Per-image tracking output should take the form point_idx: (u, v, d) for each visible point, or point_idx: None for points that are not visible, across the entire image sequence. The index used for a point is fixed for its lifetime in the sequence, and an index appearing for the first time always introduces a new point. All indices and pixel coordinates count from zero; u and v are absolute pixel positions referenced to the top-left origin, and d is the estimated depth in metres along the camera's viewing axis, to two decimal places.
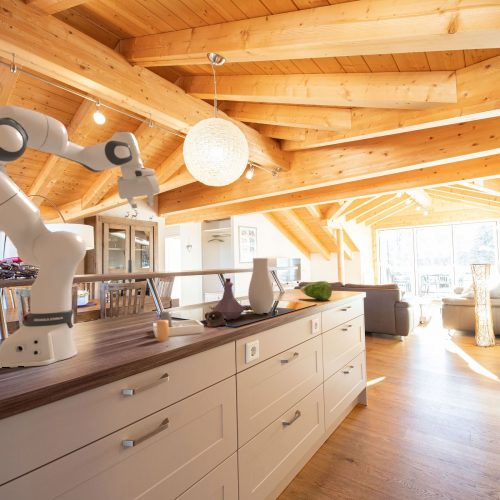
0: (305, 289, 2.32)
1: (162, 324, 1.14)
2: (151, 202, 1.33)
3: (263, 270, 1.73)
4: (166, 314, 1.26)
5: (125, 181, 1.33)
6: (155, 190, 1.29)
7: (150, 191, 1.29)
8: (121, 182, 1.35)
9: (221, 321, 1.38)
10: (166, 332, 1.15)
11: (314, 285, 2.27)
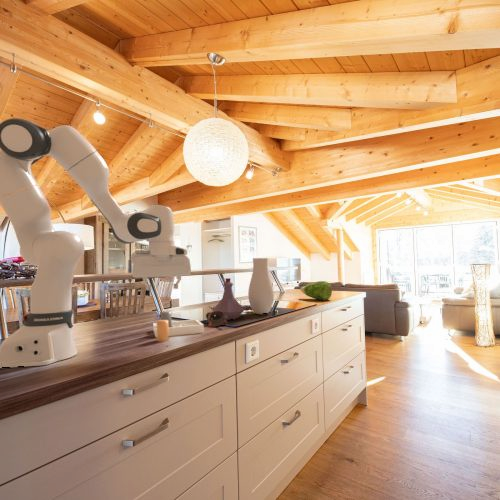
0: (305, 289, 2.32)
1: (162, 324, 1.14)
2: None
3: (263, 270, 1.73)
4: (166, 314, 1.26)
5: (150, 257, 1.14)
6: (190, 272, 1.19)
7: (187, 272, 1.18)
8: (143, 257, 1.13)
9: (222, 321, 1.39)
10: (166, 332, 1.15)
11: (314, 285, 2.27)
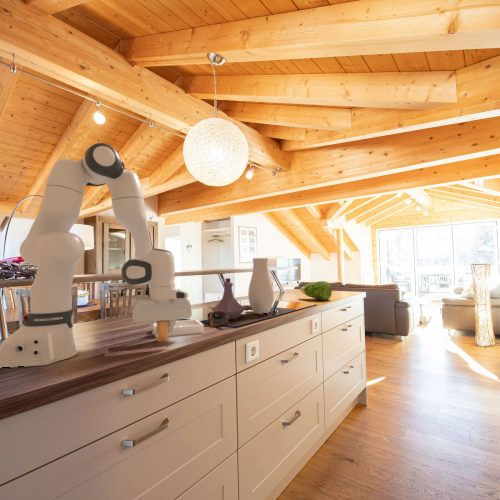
0: (305, 289, 2.32)
1: (162, 324, 1.14)
2: None
3: (263, 270, 1.73)
4: None
5: (151, 302, 1.13)
6: None
7: (187, 316, 1.17)
8: (144, 302, 1.12)
9: (224, 321, 1.39)
10: (166, 332, 1.15)
11: (314, 285, 2.27)
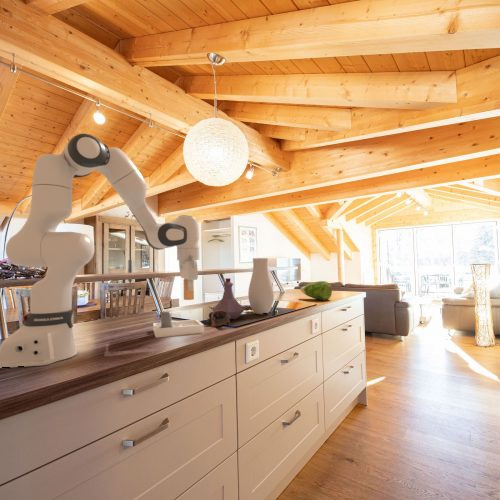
0: (305, 289, 2.32)
1: (193, 281, 1.32)
2: None
3: (263, 270, 1.73)
4: (166, 314, 1.26)
5: None
6: None
7: None
8: None
9: (226, 320, 1.39)
10: None
11: (314, 285, 2.27)
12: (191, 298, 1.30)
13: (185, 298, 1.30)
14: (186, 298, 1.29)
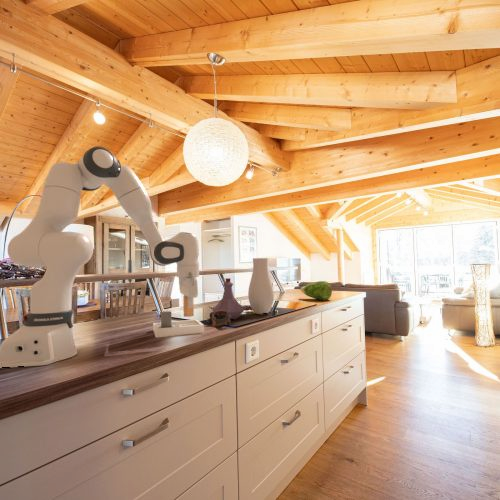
0: (305, 289, 2.32)
1: None
2: None
3: (263, 270, 1.73)
4: (166, 314, 1.26)
5: None
6: None
7: None
8: None
9: (226, 320, 1.40)
10: None
11: (314, 285, 2.27)
12: (191, 315, 1.30)
13: (185, 315, 1.30)
14: (186, 315, 1.30)
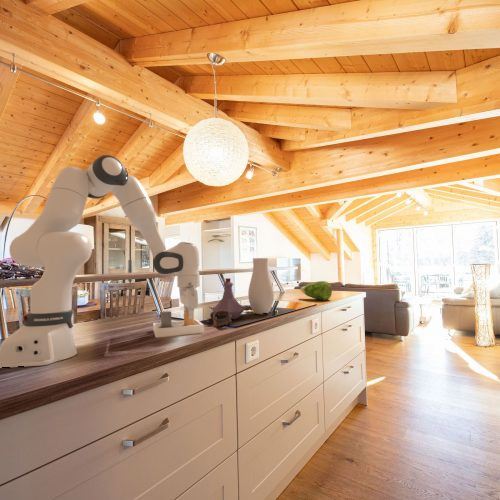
0: (305, 289, 2.32)
1: None
2: None
3: (263, 270, 1.73)
4: (166, 314, 1.26)
5: None
6: None
7: None
8: None
9: (227, 320, 1.40)
10: None
11: (314, 285, 2.27)
12: None
13: None
14: None
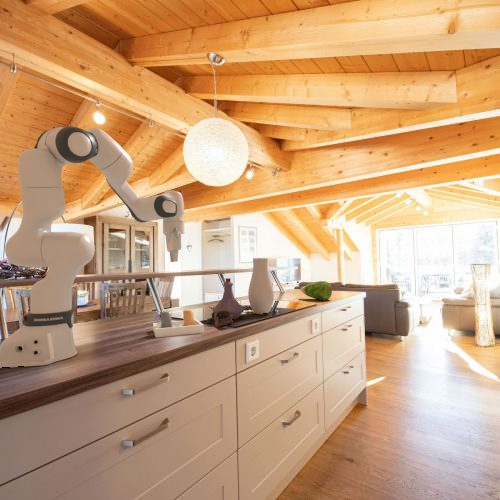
0: (305, 289, 2.32)
1: None
2: None
3: (263, 270, 1.73)
4: (166, 314, 1.26)
5: None
6: None
7: None
8: None
9: (229, 320, 1.40)
10: None
11: (314, 285, 2.27)
12: None
13: None
14: None
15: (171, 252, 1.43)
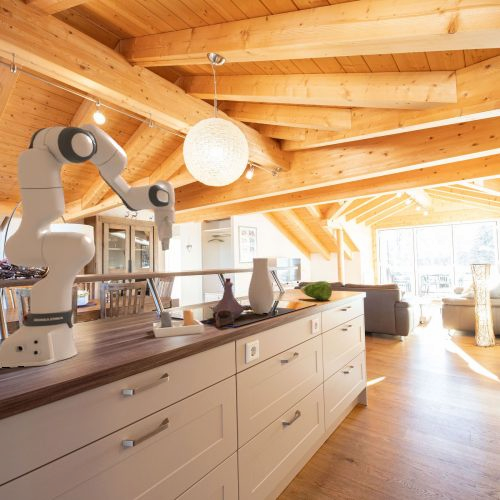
0: (305, 289, 2.32)
1: None
2: None
3: (263, 270, 1.73)
4: (166, 314, 1.26)
5: None
6: None
7: None
8: None
9: (230, 320, 1.41)
10: None
11: (314, 285, 2.27)
12: None
13: None
14: None
15: (162, 241, 1.47)
